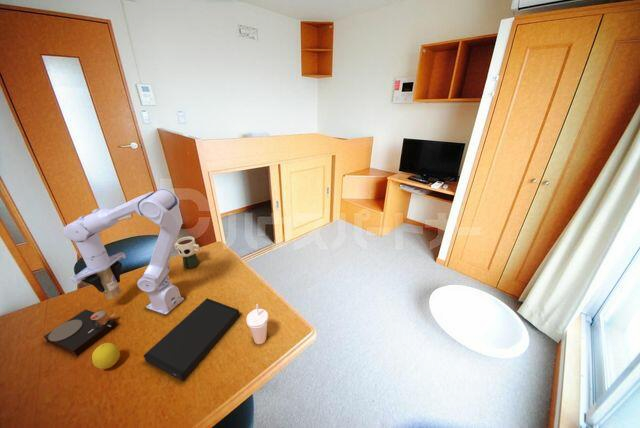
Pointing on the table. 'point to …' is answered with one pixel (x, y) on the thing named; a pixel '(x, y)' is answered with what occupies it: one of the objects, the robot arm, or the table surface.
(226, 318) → the external hard drive
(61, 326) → the burner
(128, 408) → the table surface
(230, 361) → the table surface
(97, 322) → the cupcake
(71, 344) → the hob
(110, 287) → the sprinkles bottle
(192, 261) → the character mug
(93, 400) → the table surface
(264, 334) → the smoothie
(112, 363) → the lemon
